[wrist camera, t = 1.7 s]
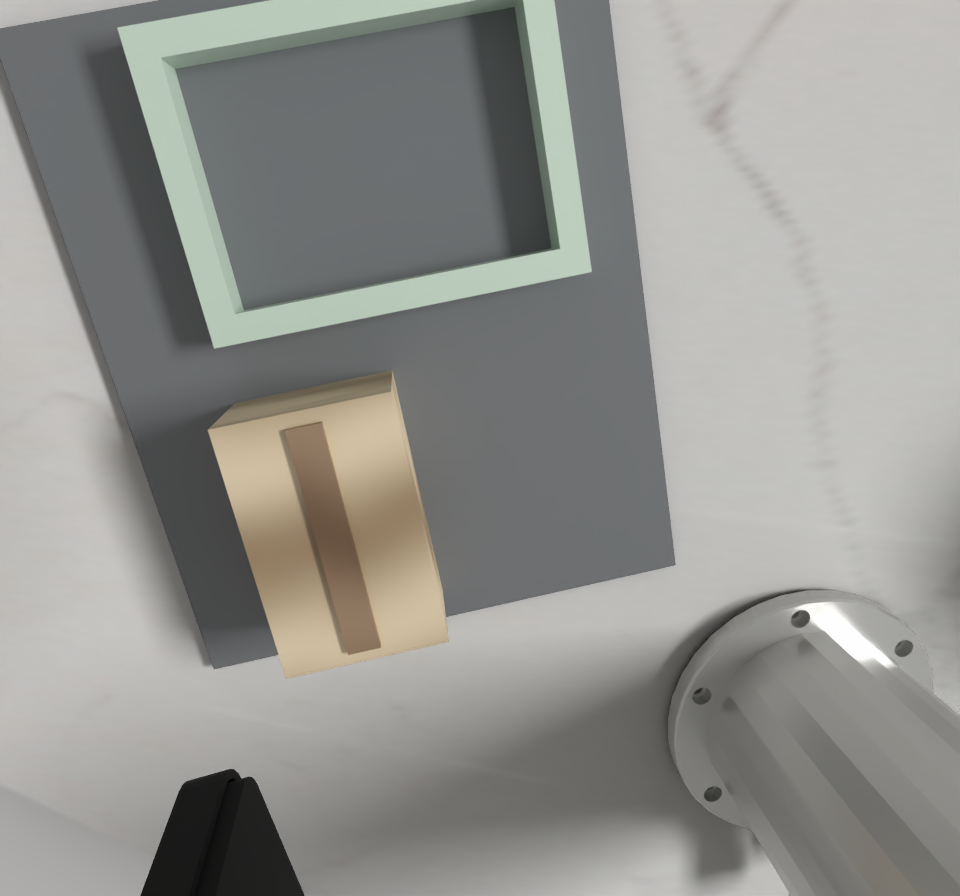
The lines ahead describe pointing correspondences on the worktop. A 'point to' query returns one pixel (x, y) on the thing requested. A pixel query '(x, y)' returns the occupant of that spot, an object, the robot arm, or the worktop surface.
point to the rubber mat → (365, 261)
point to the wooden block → (333, 522)
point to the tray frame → (319, 18)
